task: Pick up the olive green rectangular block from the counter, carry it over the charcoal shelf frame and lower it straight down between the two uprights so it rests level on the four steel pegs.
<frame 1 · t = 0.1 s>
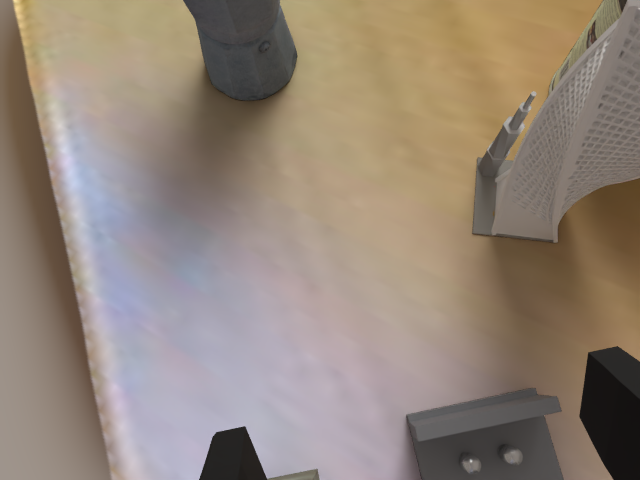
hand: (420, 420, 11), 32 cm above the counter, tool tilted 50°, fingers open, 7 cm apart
moka pot: (247, 62, 51), on the counter
coffee can: (605, 101, 47), on the counter
skyscraper: (522, 208, 45), on the counter
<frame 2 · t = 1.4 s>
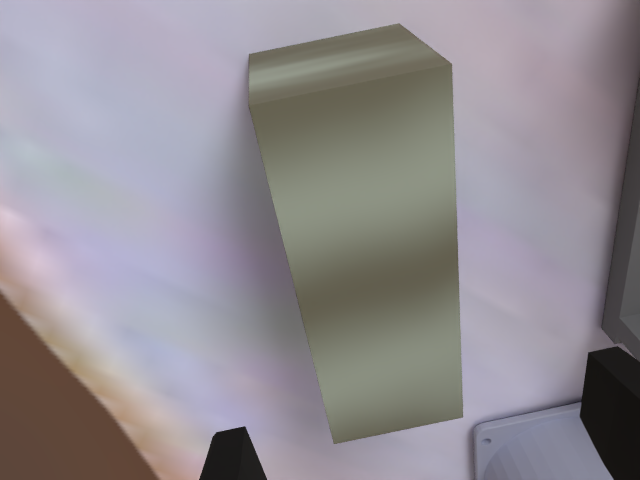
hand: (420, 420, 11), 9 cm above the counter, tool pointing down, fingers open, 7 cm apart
olive green rectangular block: (350, 209, 19), on the counter
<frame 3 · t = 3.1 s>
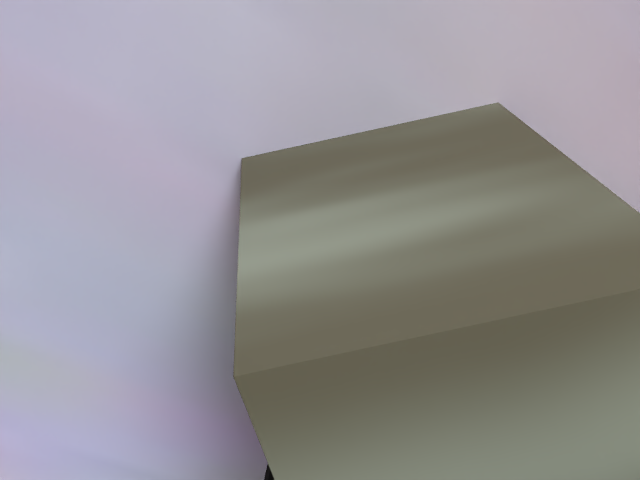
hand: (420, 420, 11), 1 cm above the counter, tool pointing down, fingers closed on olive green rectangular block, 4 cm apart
olive green rectangular block: (402, 369, 12), on the counter, touching gripper
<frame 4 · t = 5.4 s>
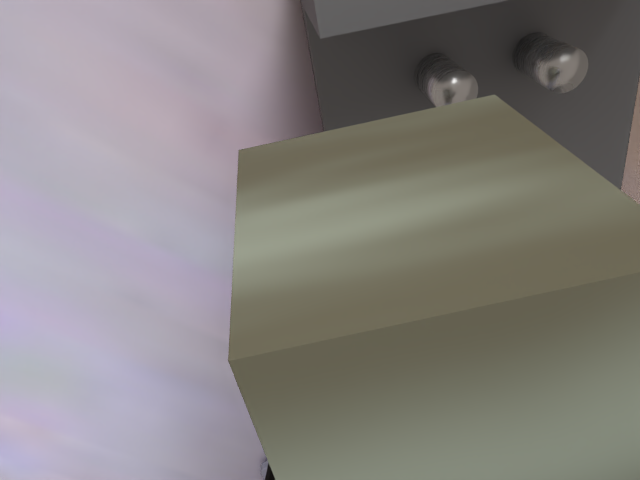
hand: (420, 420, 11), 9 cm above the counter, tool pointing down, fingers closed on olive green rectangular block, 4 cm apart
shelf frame: (472, 181, 19), on the counter
olive green rectangular block: (400, 363, 12), point 8 cm above the counter, touching gripper
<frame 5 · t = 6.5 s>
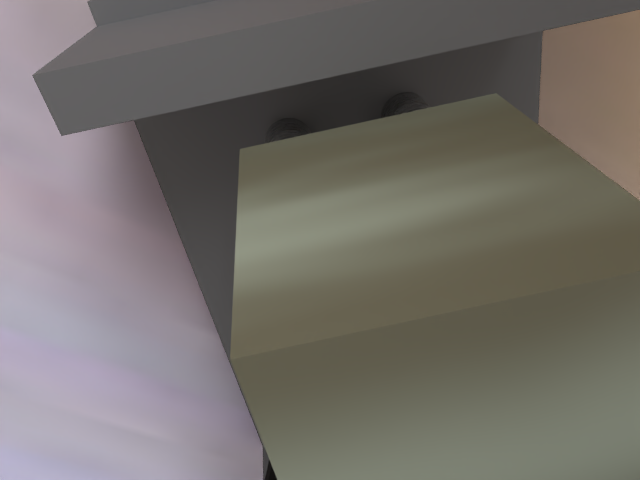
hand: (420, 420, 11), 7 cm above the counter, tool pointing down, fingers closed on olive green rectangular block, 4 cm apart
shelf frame: (363, 250, 17), on the counter
olive green rectangular block: (401, 363, 12), point 5 cm above the counter, touching gripper
when the fingers open (5 cm above the counter, at t = 7.6 s): olive green rectangular block stays where it is, resting on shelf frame.
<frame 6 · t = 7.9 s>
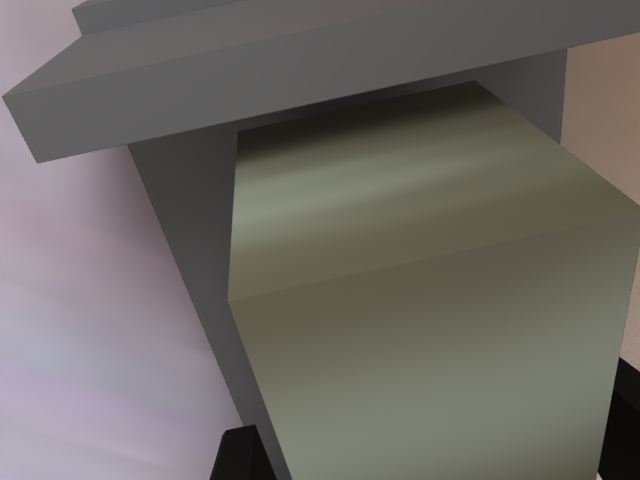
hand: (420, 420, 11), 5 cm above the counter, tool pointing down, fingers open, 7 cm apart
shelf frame: (370, 270, 16), on the counter
olive green rectangular block: (390, 338, 13), point 3 cm above the counter, touching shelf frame
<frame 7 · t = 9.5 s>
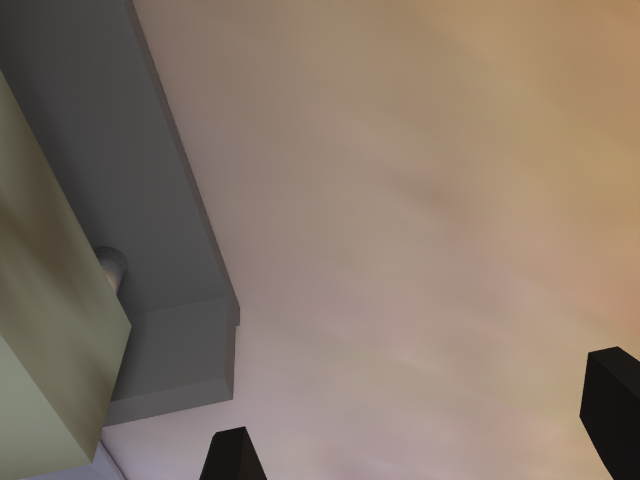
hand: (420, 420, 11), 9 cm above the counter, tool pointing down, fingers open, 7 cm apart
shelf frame: (10, 137, 16), on the counter
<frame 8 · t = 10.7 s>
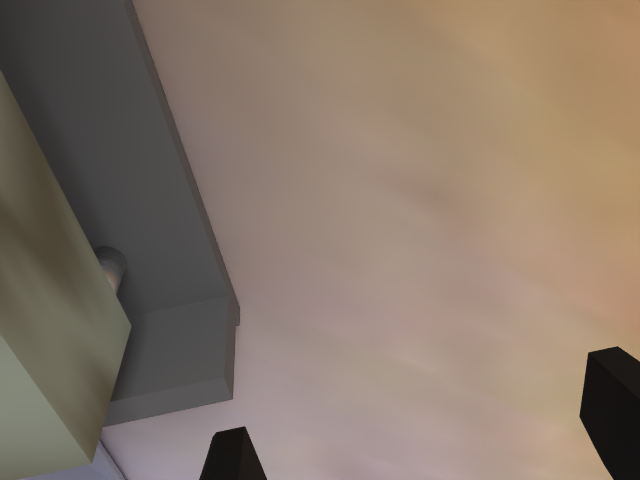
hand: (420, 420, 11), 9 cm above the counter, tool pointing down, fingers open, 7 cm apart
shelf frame: (10, 137, 16), on the counter
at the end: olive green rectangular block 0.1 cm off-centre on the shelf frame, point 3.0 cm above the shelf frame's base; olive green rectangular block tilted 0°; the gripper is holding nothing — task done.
